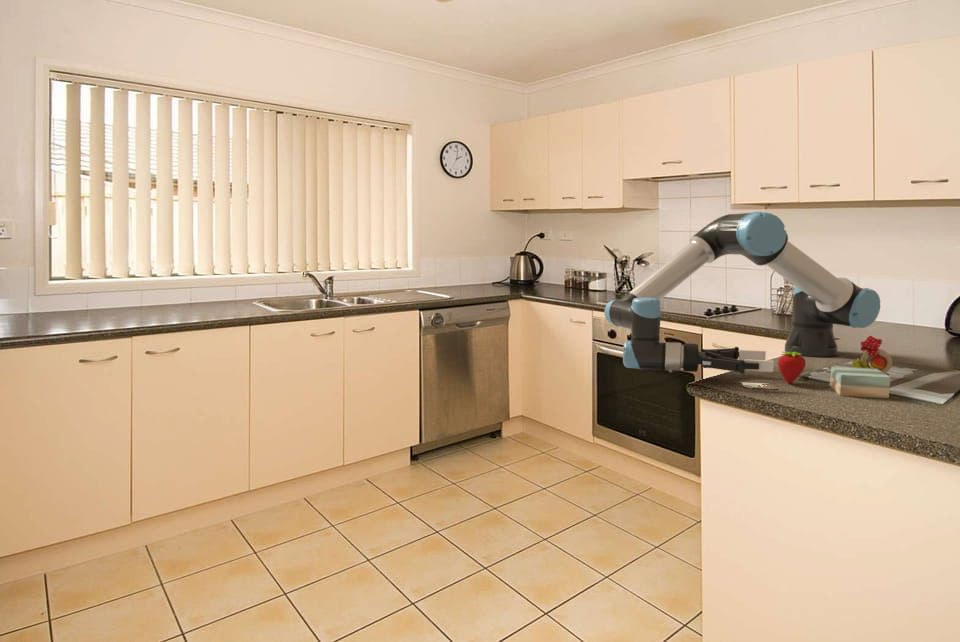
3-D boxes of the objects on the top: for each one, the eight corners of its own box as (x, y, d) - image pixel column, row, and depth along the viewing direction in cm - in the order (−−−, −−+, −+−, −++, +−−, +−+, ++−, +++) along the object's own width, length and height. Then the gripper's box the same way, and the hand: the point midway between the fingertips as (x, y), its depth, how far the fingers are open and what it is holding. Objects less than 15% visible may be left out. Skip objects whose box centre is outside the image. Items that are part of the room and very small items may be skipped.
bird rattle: (877, 381, 167) (843, 366, 170) (899, 346, 164) (864, 331, 166) (881, 387, 161) (846, 371, 164) (905, 350, 158) (868, 334, 161)
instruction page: (740, 382, 158) (740, 382, 158) (774, 384, 156) (774, 383, 156) (743, 388, 153) (743, 387, 153) (778, 390, 150) (778, 389, 150)
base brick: (829, 385, 154) (831, 366, 154) (875, 388, 151) (876, 368, 151) (840, 395, 145) (841, 374, 144) (888, 398, 142) (890, 377, 141)
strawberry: (809, 383, 157) (812, 345, 155) (794, 388, 152) (796, 348, 151) (787, 379, 161) (789, 342, 160) (771, 383, 157) (773, 345, 156)
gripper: (681, 361, 176) (761, 365, 170) (682, 381, 152) (776, 386, 146) (682, 336, 175) (763, 339, 169) (683, 351, 151) (777, 355, 145)
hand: (769, 361), depth 157 cm, fingers open, 13 cm apart
